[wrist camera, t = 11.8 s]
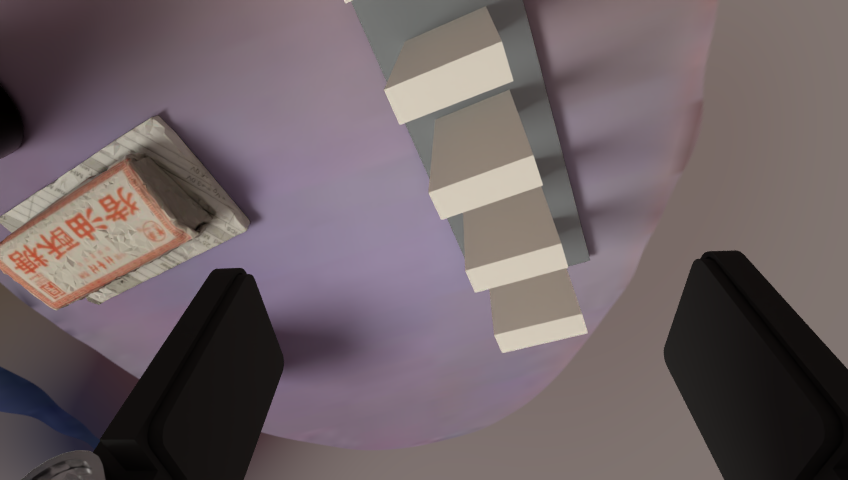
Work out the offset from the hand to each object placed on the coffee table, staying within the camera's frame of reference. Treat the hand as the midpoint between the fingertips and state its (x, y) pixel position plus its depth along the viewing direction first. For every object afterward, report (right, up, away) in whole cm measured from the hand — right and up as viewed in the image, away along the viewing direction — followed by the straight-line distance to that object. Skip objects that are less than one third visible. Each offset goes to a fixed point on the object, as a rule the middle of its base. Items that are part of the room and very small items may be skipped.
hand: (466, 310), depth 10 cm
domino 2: (+2, +10, +19) cm, 22 cm away
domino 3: (+4, +6, +22) cm, 23 cm away
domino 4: (+6, +2, +24) cm, 25 cm away
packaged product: (-24, +4, +26) cm, 36 cm away
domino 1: (+1, +13, +17) cm, 21 cm away
